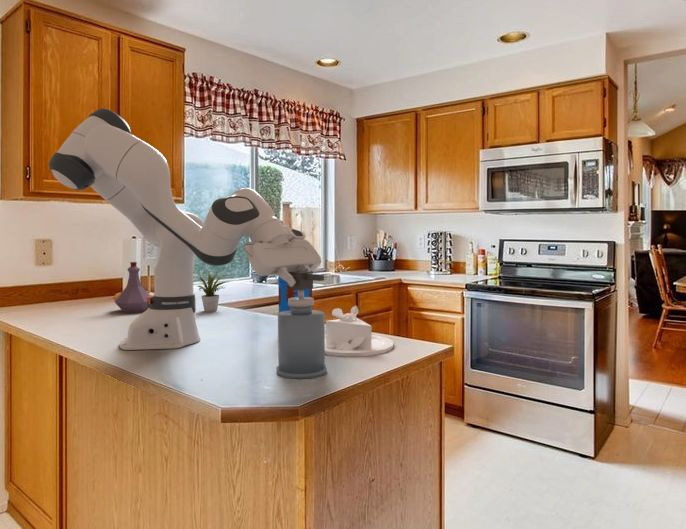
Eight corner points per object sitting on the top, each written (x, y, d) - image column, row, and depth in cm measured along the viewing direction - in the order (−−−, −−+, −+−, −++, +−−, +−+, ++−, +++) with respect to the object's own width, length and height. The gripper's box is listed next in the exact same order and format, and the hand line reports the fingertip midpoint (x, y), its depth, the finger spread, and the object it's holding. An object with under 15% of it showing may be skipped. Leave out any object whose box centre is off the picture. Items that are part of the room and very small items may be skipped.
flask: (163, 310, 210) (162, 262, 208) (124, 315, 197) (123, 264, 196) (144, 306, 221) (142, 260, 219) (106, 310, 208) (104, 262, 207)
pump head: (289, 298, 119) (288, 271, 119) (300, 296, 123) (300, 270, 122) (316, 301, 114) (316, 273, 114) (327, 299, 117) (327, 272, 117)
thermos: (307, 337, 158) (306, 257, 156) (274, 335, 160) (273, 256, 158) (315, 330, 169) (315, 255, 167) (285, 329, 171) (284, 254, 169)
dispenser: (265, 372, 120) (264, 299, 119) (300, 362, 130) (299, 293, 128) (303, 382, 113) (302, 304, 111) (337, 370, 122) (336, 298, 121)
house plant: (211, 315, 198) (210, 273, 196) (184, 312, 204) (183, 272, 202) (234, 309, 211) (233, 270, 209) (208, 307, 216) (207, 269, 215)
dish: (291, 345, 150) (291, 307, 149) (357, 333, 165) (357, 299, 164) (342, 362, 130) (342, 319, 129) (411, 348, 145) (411, 309, 145)
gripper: (246, 232, 115) (278, 278, 109) (307, 231, 131) (337, 271, 126) (234, 251, 118) (264, 297, 112) (294, 248, 134) (323, 288, 129)
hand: (303, 283), depth 119 cm, fingers closed on pump head, 4 cm apart
